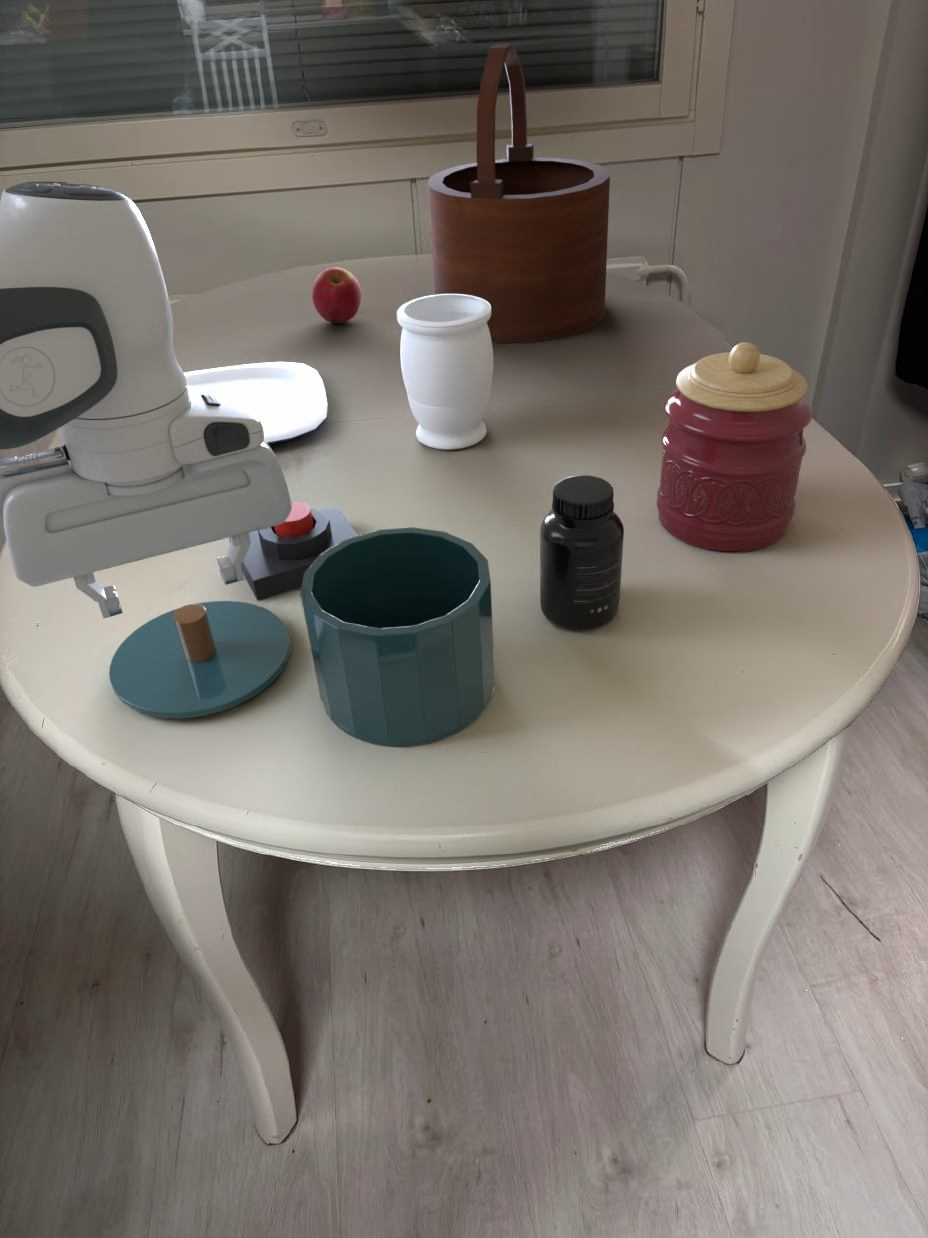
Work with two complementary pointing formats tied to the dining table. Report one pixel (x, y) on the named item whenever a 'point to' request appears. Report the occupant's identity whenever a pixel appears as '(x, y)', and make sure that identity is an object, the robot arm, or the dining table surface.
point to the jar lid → (199, 659)
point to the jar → (447, 367)
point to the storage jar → (401, 634)
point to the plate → (273, 395)
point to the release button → (296, 521)
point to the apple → (336, 295)
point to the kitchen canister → (733, 450)
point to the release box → (291, 553)
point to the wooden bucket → (521, 226)
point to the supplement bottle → (581, 555)
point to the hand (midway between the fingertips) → (173, 595)
